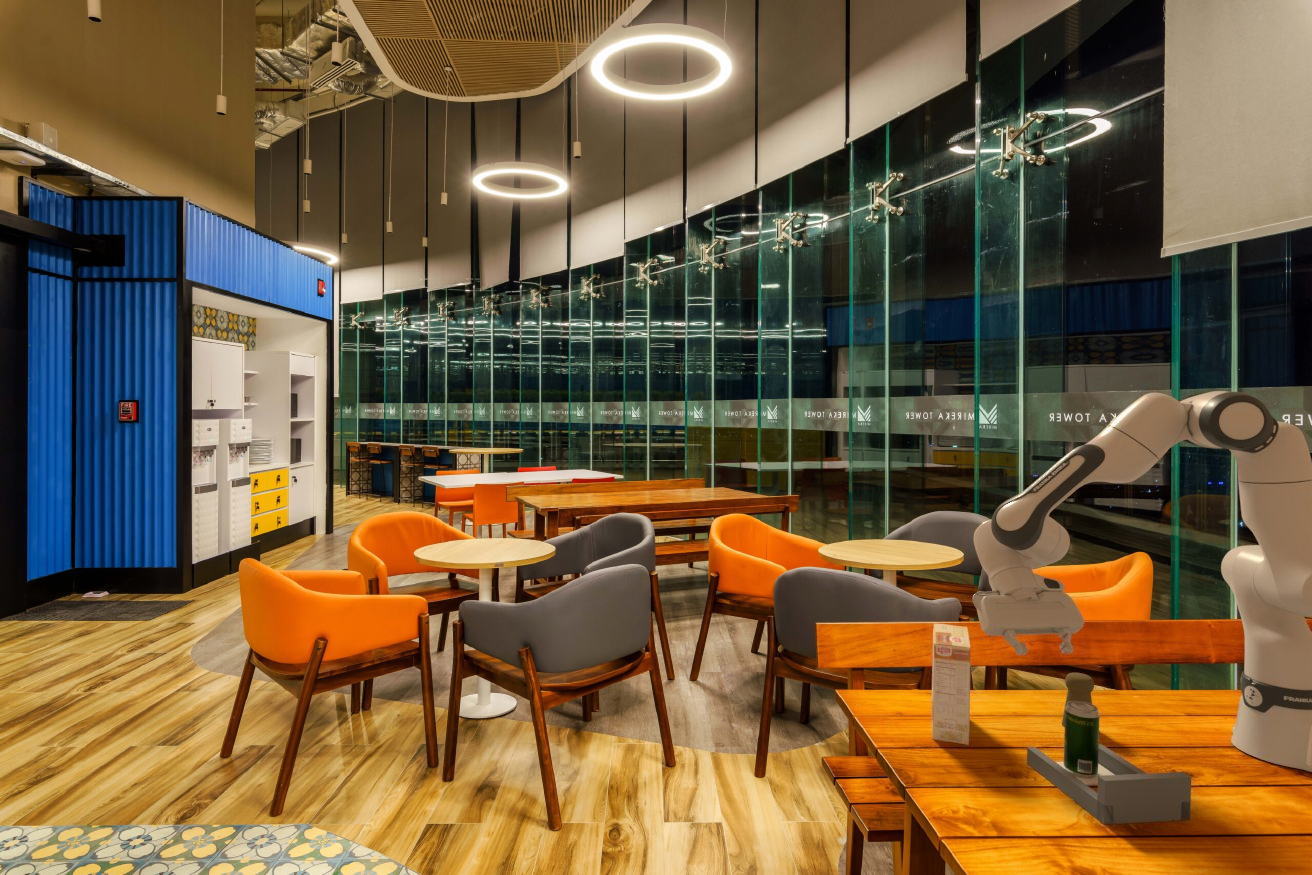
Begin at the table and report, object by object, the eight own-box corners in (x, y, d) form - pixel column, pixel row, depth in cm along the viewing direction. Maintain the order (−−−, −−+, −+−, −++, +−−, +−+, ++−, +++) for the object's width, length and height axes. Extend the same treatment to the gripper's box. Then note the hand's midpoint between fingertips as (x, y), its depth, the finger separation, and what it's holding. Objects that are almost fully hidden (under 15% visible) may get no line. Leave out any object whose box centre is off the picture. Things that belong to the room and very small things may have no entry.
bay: (1101, 759, 136) (1102, 723, 135) (1190, 819, 116) (1191, 776, 115) (1026, 763, 134) (1027, 726, 134) (1103, 824, 114) (1105, 780, 114)
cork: (1100, 734, 146) (1101, 680, 146) (1067, 731, 148) (1069, 678, 147) (1088, 722, 152) (1090, 670, 152) (1057, 719, 154) (1058, 668, 153)
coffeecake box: (931, 710, 158) (933, 622, 157) (966, 716, 155) (968, 626, 154) (930, 739, 144) (932, 642, 143) (969, 745, 141) (971, 647, 140)
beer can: (1103, 780, 127) (1105, 712, 127) (1071, 778, 128) (1073, 711, 128) (1089, 765, 133) (1090, 700, 132) (1058, 763, 133) (1059, 699, 133)
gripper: (975, 583, 147) (1002, 646, 137) (1069, 581, 149) (1102, 643, 139) (963, 599, 151) (988, 661, 142) (1055, 597, 153) (1086, 658, 144)
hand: (1045, 652), depth 140 cm, fingers open, 8 cm apart
